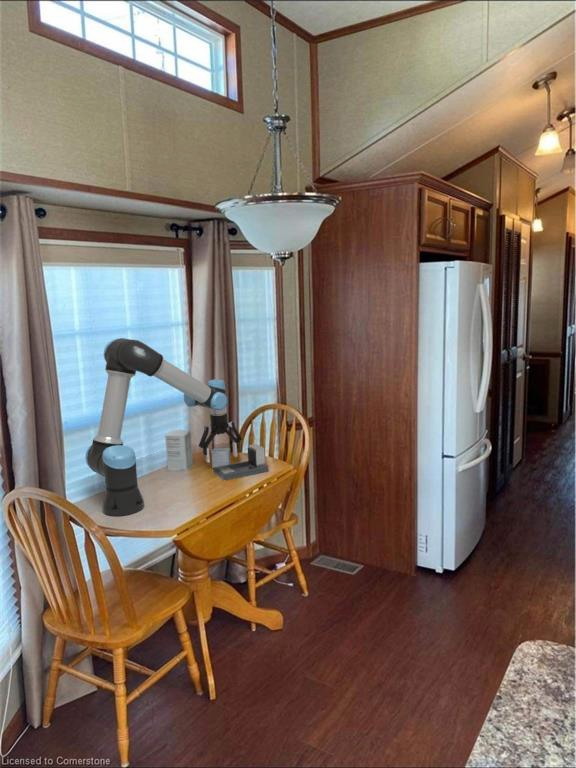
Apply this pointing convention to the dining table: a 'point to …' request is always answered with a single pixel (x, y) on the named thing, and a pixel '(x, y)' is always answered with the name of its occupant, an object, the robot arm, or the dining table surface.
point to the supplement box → (179, 450)
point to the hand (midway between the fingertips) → (221, 458)
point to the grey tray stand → (244, 465)
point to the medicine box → (220, 457)
